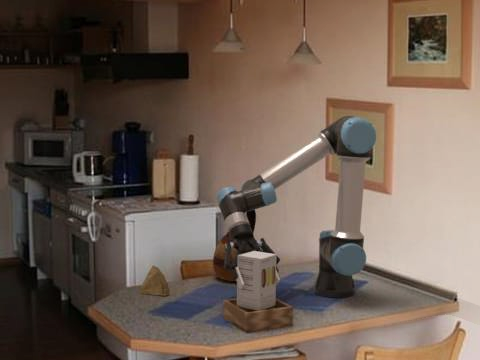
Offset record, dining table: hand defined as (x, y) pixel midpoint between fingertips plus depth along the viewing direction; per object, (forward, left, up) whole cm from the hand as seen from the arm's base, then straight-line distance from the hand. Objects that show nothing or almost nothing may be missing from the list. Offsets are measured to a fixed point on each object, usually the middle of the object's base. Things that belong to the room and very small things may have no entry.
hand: (260, 284), depth 257 cm
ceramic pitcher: (-20, -56, -13) cm, 61 cm away
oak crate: (0, -2, -13) cm, 13 cm away
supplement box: (0, -2, -8) cm, 8 cm away
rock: (+18, -48, -13) cm, 53 cm away
